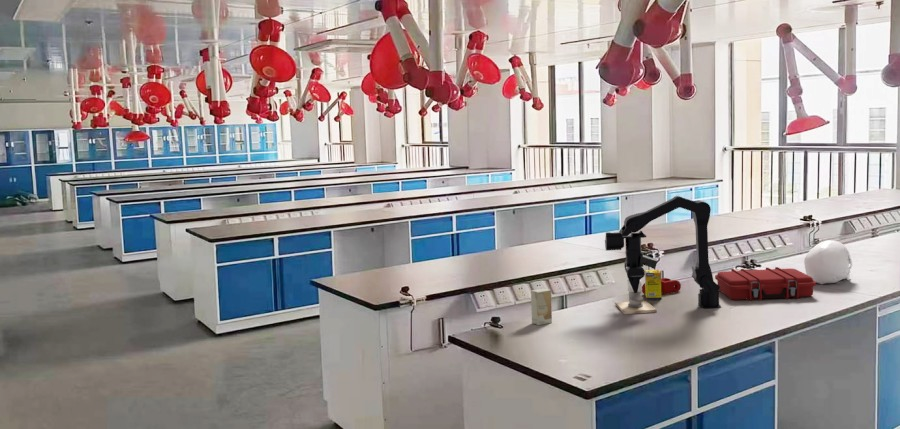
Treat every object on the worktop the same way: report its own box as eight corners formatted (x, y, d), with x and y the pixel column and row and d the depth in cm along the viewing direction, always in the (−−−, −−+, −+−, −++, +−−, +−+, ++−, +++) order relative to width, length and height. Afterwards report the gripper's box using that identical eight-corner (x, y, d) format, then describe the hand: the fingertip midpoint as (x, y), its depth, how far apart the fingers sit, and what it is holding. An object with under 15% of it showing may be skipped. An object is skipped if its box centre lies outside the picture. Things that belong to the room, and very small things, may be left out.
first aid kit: (794, 286, 300) (793, 265, 299) (818, 299, 277) (818, 276, 276) (713, 289, 302) (713, 269, 301) (731, 303, 279) (730, 280, 278)
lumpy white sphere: (864, 269, 306) (852, 230, 295) (848, 304, 296) (835, 266, 286) (824, 265, 317) (811, 228, 307) (808, 299, 308) (794, 262, 298)
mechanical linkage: (669, 288, 308) (669, 277, 308) (680, 291, 302) (680, 279, 301) (638, 294, 302) (637, 282, 301) (649, 297, 296) (648, 285, 295)
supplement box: (661, 299, 290) (661, 272, 289) (646, 299, 291) (645, 272, 290) (660, 296, 296) (659, 269, 294) (645, 296, 297) (644, 269, 296)
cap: (627, 292, 276) (626, 281, 276) (628, 288, 281) (628, 278, 281) (641, 292, 274) (640, 281, 274) (642, 289, 279) (642, 278, 279)
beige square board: (646, 303, 285) (645, 285, 285) (656, 312, 271) (656, 293, 271) (615, 305, 285) (614, 287, 285) (624, 314, 272) (623, 295, 271)
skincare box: (538, 325, 263) (536, 292, 262) (531, 323, 267) (529, 290, 266) (553, 322, 266) (551, 289, 265) (546, 320, 270) (544, 287, 269)
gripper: (658, 253, 265) (659, 295, 267) (653, 244, 284) (654, 284, 285) (626, 254, 267) (628, 295, 269) (623, 245, 286) (624, 285, 287)
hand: (634, 290), depth 278 cm, fingers open, 9 cm apart
